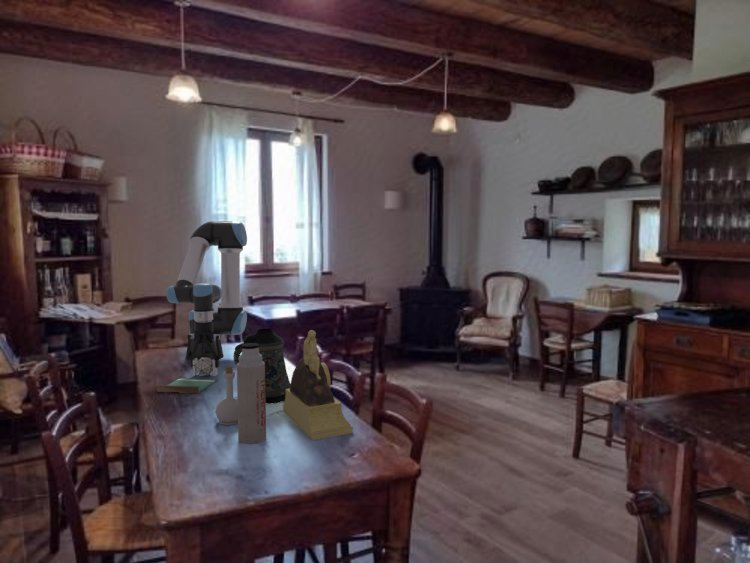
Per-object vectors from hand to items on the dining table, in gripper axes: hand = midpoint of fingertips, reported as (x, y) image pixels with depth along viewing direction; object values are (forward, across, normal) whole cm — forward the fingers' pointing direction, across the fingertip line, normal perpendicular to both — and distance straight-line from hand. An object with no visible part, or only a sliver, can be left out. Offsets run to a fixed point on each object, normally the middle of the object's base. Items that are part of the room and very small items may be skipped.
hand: (205, 374), depth 232 cm
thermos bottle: (0, +44, -64) cm, 78 cm away
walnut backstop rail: (0, 0, -24) cm, 24 cm away
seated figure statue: (+1, +59, -48) cm, 76 cm away
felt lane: (0, 0, -14) cm, 15 cm away
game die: (+1, 0, 0) cm, 1 cm away
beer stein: (+1, +35, -26) cm, 44 cm away
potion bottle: (+1, +32, -51) cm, 60 cm away
